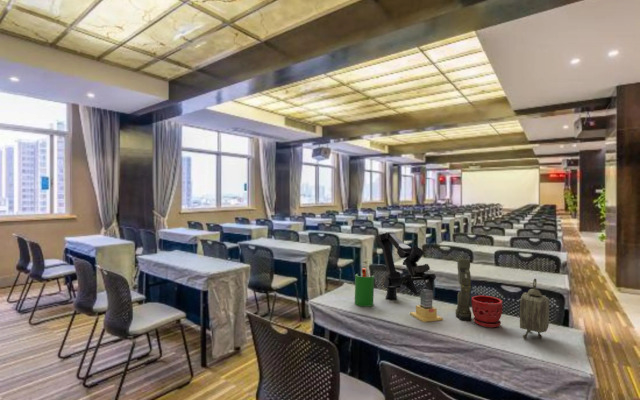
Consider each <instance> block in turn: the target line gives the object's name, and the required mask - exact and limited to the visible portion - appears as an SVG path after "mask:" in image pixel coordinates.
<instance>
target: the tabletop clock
mask: <svg viewBox="0 0 640 400" xmlns="http://www.w3.org/2000/svg"><path fill="white" fill-rule="evenodd" d="M519 306H520V307H519V328H520V329H522V330H526V332H525V334H523V335H522V338H523V339H524V340H526V339H527V338H528V334H529V333H530V332H535V333H537V338H538V339H542V338H543V335H542V334H543V333H546V332H547V330H548V328H549V326H550V298H549V297H547V296H545V295H543V294H542V293H541V291H540V290H539V289H537V279H536V278H533V282H532V288H530V289H528V291H527V292H523V293H522V295H521V297H520V303H519Z"/></svg>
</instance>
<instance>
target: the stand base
mask: <svg viewBox="0 0 640 400" xmlns="http://www.w3.org/2000/svg"><path fill="white" fill-rule="evenodd" d="M437 312H438V308H436V307H435V306H432V308H430V309H424V308H422V307H420V304H417V305H415V311H412V312H411V311H410V312H409V315H410V316H412V317H413V318H415V319H417V320H419V321H421V322H423V323H429V322H436V321H443V317H442V316H440V315H438V313H437Z"/></svg>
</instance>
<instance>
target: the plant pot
mask: <svg viewBox="0 0 640 400" xmlns="http://www.w3.org/2000/svg"><path fill="white" fill-rule="evenodd" d="M470 305H471V310H472V311H471V312H472V314H473V321H474V323H475V324H477V325H478V326H481V327H485V328H492V329H493V328H497V327H499V326H500V325H501V324H502V321H501V320H500V319H501V318H502V316H503V315H502V314H503V301H502V299H500V298H498V297H495V296H489V295H475V296H472V297H470Z"/></svg>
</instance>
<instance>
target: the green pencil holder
mask: <svg viewBox="0 0 640 400" xmlns="http://www.w3.org/2000/svg"><path fill="white" fill-rule="evenodd" d="M361 274H362V275H361V276H359V273H356V274H355V275H354V276H355V278H354V279H355V280H354V285H355V286H354V304H355V305H356V306H360V307H371V306H372V307H373V306H374V297H375V296H374V294H375V293H374V292H375V290H374V289H375V275H374V274H373V275H371V276H367V268H365V267H362V269H361Z"/></svg>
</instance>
